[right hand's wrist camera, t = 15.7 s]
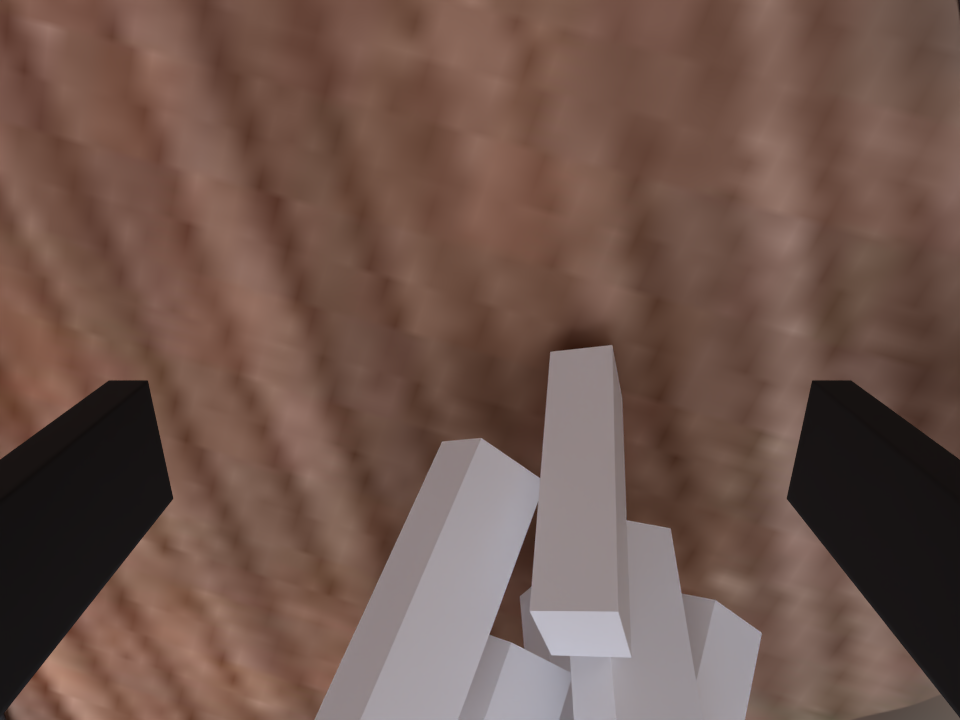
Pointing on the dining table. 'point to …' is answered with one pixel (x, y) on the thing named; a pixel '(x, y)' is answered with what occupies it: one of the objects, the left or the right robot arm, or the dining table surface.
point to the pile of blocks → (542, 589)
